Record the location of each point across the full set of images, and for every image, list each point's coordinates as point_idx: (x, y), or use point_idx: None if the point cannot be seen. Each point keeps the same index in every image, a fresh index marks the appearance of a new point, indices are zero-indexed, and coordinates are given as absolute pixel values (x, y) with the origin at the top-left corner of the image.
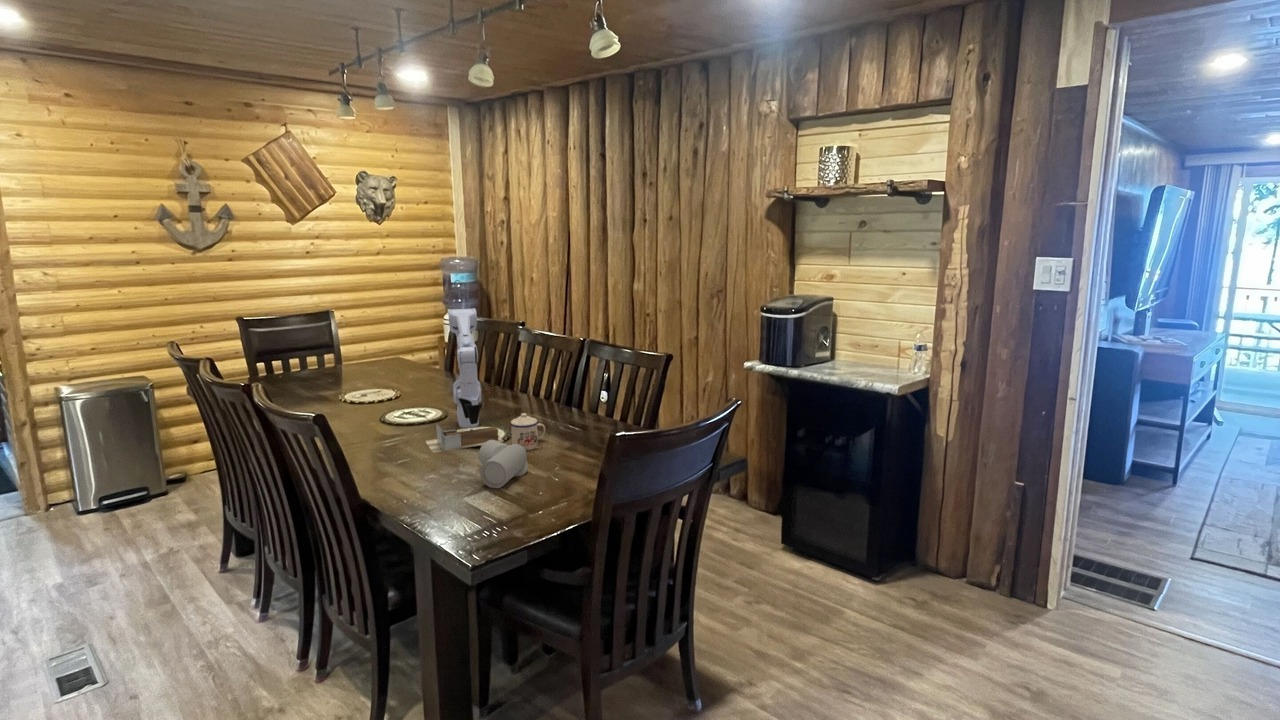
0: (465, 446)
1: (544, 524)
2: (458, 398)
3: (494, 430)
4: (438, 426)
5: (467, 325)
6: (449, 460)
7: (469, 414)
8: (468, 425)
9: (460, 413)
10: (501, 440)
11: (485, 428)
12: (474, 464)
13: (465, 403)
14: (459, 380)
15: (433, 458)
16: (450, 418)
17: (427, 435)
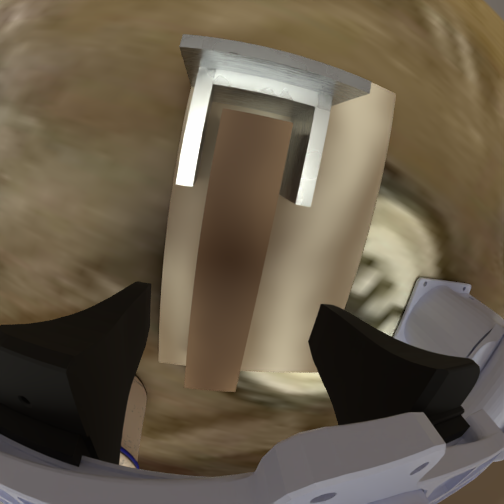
0: (188, 201)
1: None
2: (474, 368)
3: (185, 373)
4: (314, 65)
5: None
6: (94, 86)
7: (81, 313)
8: (419, 313)
9: (470, 314)
10: (179, 360)
11: (235, 354)
12: (8, 169)
13: (378, 392)
14: None
15: (166, 34)
16: (500, 289)
17: (455, 158)
